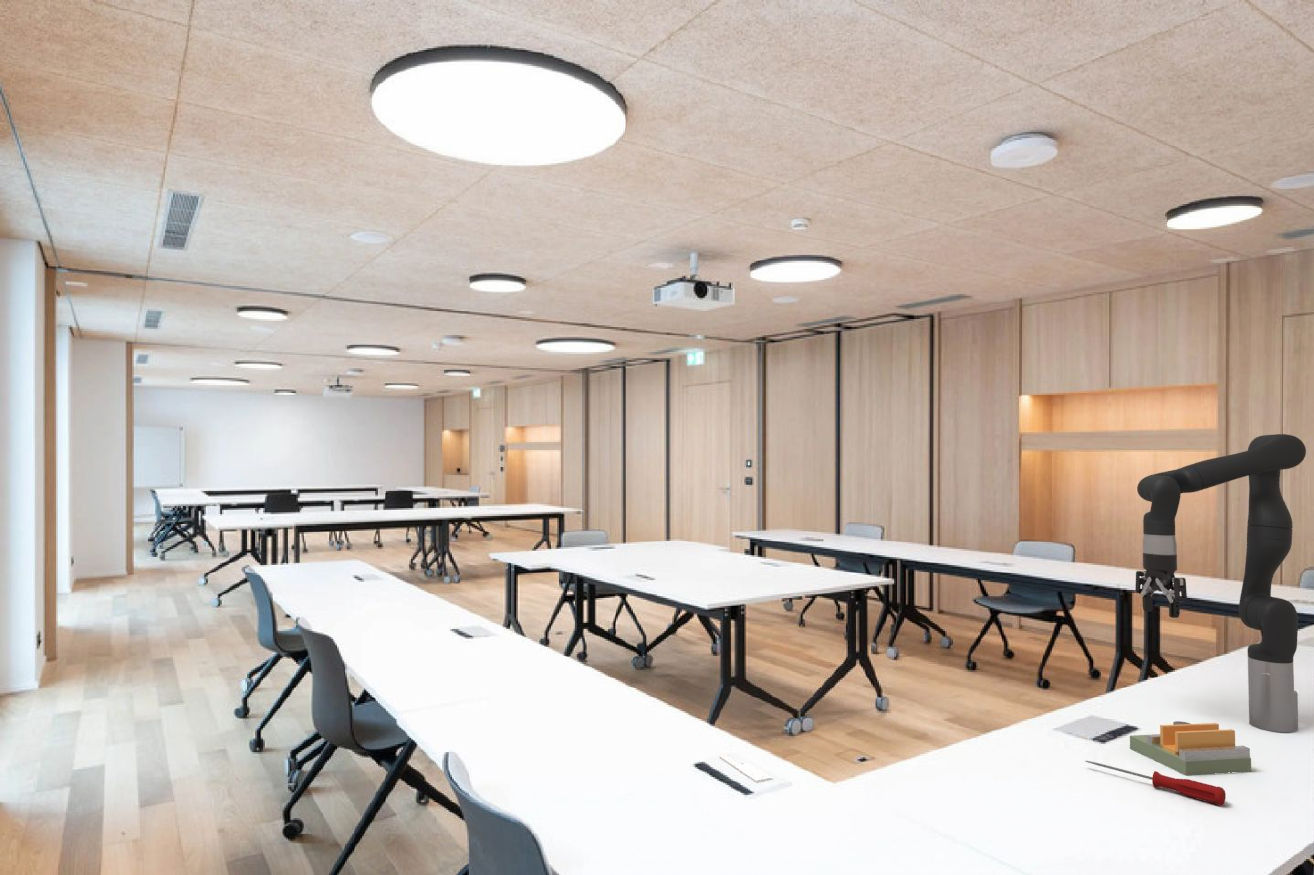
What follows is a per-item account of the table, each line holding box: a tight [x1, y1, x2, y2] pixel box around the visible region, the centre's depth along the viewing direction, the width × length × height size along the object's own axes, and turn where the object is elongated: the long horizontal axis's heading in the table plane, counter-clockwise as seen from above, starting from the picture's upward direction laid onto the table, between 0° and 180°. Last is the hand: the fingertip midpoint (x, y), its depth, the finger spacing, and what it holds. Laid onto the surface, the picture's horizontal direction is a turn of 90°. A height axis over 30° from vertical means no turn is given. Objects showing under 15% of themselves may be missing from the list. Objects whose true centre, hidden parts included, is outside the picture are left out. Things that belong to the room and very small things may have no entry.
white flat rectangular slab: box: [719, 754, 775, 784], centre depth 167 cm, size 5×15×1 cm, turn 26°
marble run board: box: [1129, 720, 1252, 777], centre depth 174 cm, size 16×16×6 cm
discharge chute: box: [1159, 722, 1236, 756], centre depth 171 cm, size 14×5×5 cm, turn 97°
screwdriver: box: [1084, 760, 1227, 806], centre depth 159 cm, size 4×25×4 cm, turn 43°
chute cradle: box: [1146, 733, 1251, 761], centre depth 171 cm, size 16×10×2 cm, turn 98°
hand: (1160, 614), depth 200 cm, fingers open, 8 cm apart
